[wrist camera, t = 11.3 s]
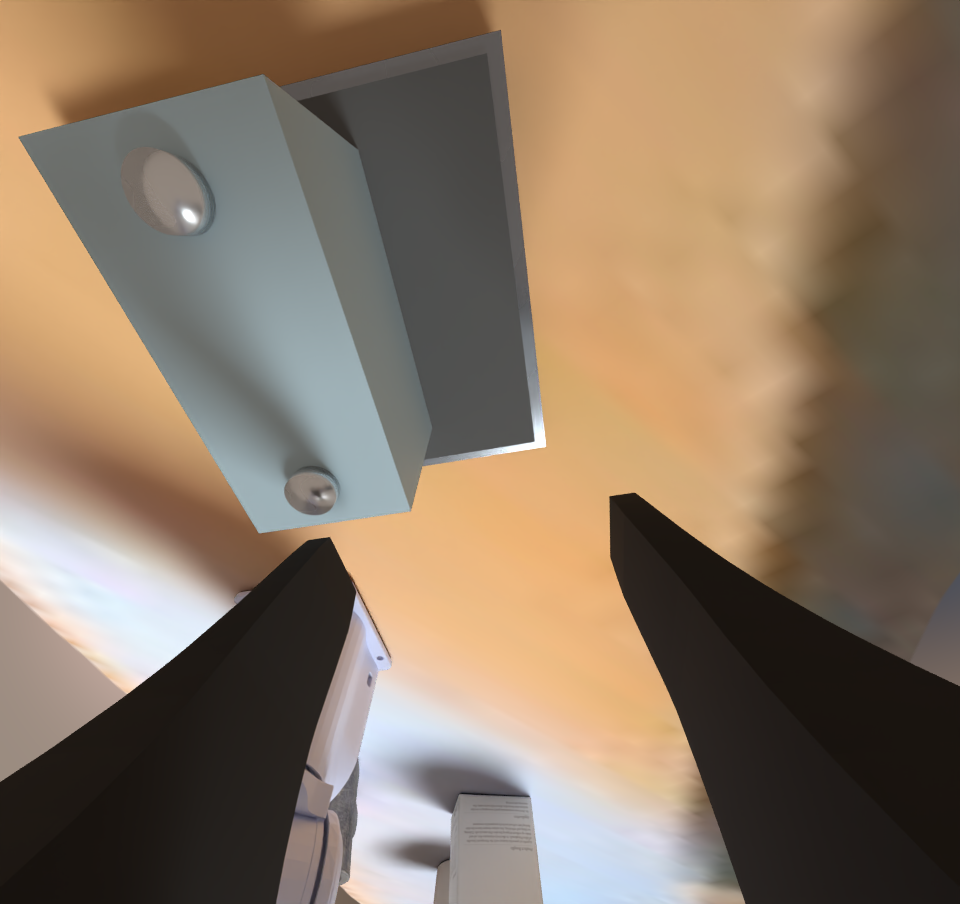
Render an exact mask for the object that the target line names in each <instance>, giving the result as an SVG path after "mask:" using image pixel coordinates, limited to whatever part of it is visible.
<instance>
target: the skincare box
mask: <svg viewBox="0 0 960 904" xmlns="http://www.w3.org/2000/svg"><path fill="white" fill-rule="evenodd" d="M449 904H543V899H542V890H541V881H540V873H539V864H538V855H537V846H536V838H535V830H534V821H533V813H532V805H531V798H530V797H517V796H491V795H468V794H459V796H458V799H457V802H456V805H455V808H454V811H453V814H452V818H451V844H450V880H449Z"/></svg>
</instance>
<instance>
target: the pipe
mask: <svg viewBox="0 0 960 904" xmlns="http://www.w3.org/2000/svg"><path fill="white" fill-rule="evenodd" d="M358 779H359V764H358V762H356V765H355V767H354V769H353V771H352V773H351V775H350V777H349V779H348V781H347V782H346V784H345V785H344V786H343V788H342V789H341V791H340V792H339V793H338V794H337V796H336V797H335V798H334V799H333V800H332V801H331V802H330V804H329V808H328V810H333V811H334V812H335V813H336V814H337V816H338V819H339V824H340V831H341V834H342V841H343V856H342V866H341V873H340V879H339V885H342V884H344V883H346V882H347V881H348V880H349V878H350V864H351V849H352V838H353V836H354V834H355V831H356V826H357V805H356V797H357V786H358ZM339 885H338V886H339Z"/></svg>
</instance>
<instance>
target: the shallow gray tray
mask: <svg viewBox="0 0 960 904" xmlns="http://www.w3.org/2000/svg"><path fill="white" fill-rule="evenodd" d="M280 88H281V89H283V90H284V91H285V92H286V93H288V94H289V95H290V96H291V97H293V98H294V99H295V100H296V101H298V102H299V103H300V104H301V105H303V106H304V107H305V108H306V109H308V110H309V111H310V112H311V113H313V114H314V115H315V116H316V117H318V118H319V119H320V120H321V121H323V122H324V123H325V124H326V125H328V126H329V127H330V128H331V129H333V130H334V131H335V132H336V133H338V134H339V135H340V136H341V137H343V138H344V139H345V140H346V141H348V142H349V143H350V144H351V145H353V146H354V147H355V148H356V149H358V151H359V155H360V159H361V162H362V166H363V170H364V174H365V177H366V181H367V185H368V189H369V192H370V196H371V200H372V204H373V207H374V211H375V215H376V219H377V222H378V226H379V230H380V234H381V237H382V241H383V245H384V249H385V252H386V256H387V260H388V264H389V268H390V271H391V275H392V279H393V283H394V286H395V290H396V294H397V298H398V301H399V305H400V309H401V313H402V316H403V320H404V324H405V328H406V331H407V335H408V339H409V343H410V346H411V350H412V354H413V358H414V361H415V365H416V369H417V373H418V376H419V380H420V384H421V388H422V391H423V395H424V399H425V403H426V407H427V410H428V414H429V418H430V422H431V425H432V431H431V435H430V439H429V442H428V446H427V450H426V454H425V458H424V462H423V466H427V465H433V464H440V463H446V462H452V461H459V460H465V459H471V458H477V457H484V456H490V455H496V454H503V453H509V452H515V451H521V450H528V449H534V448H540V447H546V442H545V433H544V424H543V415H542V405H541V396H540V387H539V378H538V368H537V359H536V350H535V341H534V332H533V322H532V313H531V304H530V295H529V286H528V276H527V267H526V258H525V249H524V240H523V230H522V221H521V212H520V203H519V193H518V184H517V175H516V166H515V157H514V147H513V138H512V129H511V120H510V111H509V101H508V92H507V83H506V74H505V65H504V55H503V46H502V37H501V30H499V31H495V32H491V33H487V34H483V35H480V36H476V37H472V38H468V39H464V40H460V41H456V42H452V43H448V44H444V45H440V46H437V47H433V48H429V49H425V50H421V51H417V52H413V53H409V54H405V55H401V56H398V57H394V58H390V59H386V60H382V61H378V62H374V63H370V64H366V65H362V66H359V67H355V68H351V69H347V70H343V71H339V72H335V73H331V74H327V75H323V76H320V77H316V78H312V79H308V80H304V81H300V82H296V83H292V84H288V85H284V86H281V87H280Z"/></svg>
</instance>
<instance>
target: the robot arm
mask: <svg viewBox="0 0 960 904" xmlns="http://www.w3.org/2000/svg"><path fill="white" fill-rule="evenodd" d="M610 557H611V560H612V564H613V567H614V570H615V573H616V576H617V579H618V582H619V584H620V587H621V590H622V593H623V596H624V598H625V600H626V602H627V605H628V607H629V609H630V611H631V613H632V615H633V618H634V620H635V622H636V624H637V626H638V628H639V630H640V632H641V635H642V637H643V639H644V641H645V643H646V645H647V647H648V649H649V651H650V654H651V656H652V658H653V660H654V662H655V664H656V666H657V668H658V670H659V673H660V675H661V677H662V679H663V681H664V683H665V685H666V687H667V690H668V692H669V694H670V697H671V699H672V701H673V704H674V706H675V708H676V711H677V713H678V716H679V718H680V721H681V724H682V726H683V729H684V732H685V734H686V737H687V740H688V742H689V745H690V748H691V750H692V753H693V756H694V758H695V761H696V764H697V767H698V769H699V772H700V775H701V778H702V780H703V783H704V786H705V789H706V792H707V794H708V797H709V800H710V803H711V805H712V808H713V811H714V814H715V817H716V819H717V822H718V825H719V828H720V831H721V834H722V836H723V839H724V842H725V845H726V848H727V851H728V854H729V857H730V860H731V863H732V866H733V868H734V871H735V874H736V877H737V880H738V883H739V886H740V889H741V892H742V895H743V897H744V900H745V903H746V904H960V686H958V685H956V684H954V683H952V682H949V681H947V680H945V679H943V678H941V677H939V676H937V675H935V674H932V673H930V672H928V671H926V670H924V669H922V668H920V667H917V666H915V665H913V664H911V663H909V662H907V661H905V660H903V659H901V658H899V657H897V656H895V655H893V654H891V653H889V652H887V651H885V650H883V649H881V648H879V647H877V646H875V645H873V644H871V643H869V642H867V641H865V640H863V639H861V638H859V637H857V636H855V635H853V634H852V633H850V632H848V631H846V630H844V629H842V628H840V627H838V626H836V625H835V624H833V623H831V622H829V621H827V620H825V619H823V618H822V617H820V616H818V615H816V614H815V613H813V612H811V611H809V610H807V609H806V608H804V607H802V606H800V605H799V604H797V603H795V602H793V601H792V600H790V599H788V598H786V597H785V596H783V595H781V594H779V593H778V592H776V591H774V590H773V589H771V588H769V587H768V586H766V585H764V584H763V583H761V582H760V581H758V580H756V579H755V578H753V577H752V576H750V575H749V574H747V573H746V572H744V571H742V570H741V569H739V568H738V567H736V566H735V565H733V564H732V563H730V562H728V561H727V560H725V559H724V558H723V557H721V556H720V555H718V554H717V553H715V552H714V551H712V550H711V549H710V548H708V547H707V546H705V545H704V544H703V543H701V542H700V541H698V540H697V539H696V538H694V537H693V536H691V535H690V534H689V533H687V532H686V531H685V530H683V529H682V528H681V527H679V526H678V525H677V524H675V523H674V522H673V521H671V520H670V519H669V518H667V517H666V516H665V515H663V514H662V513H661V512H660V511H658V510H657V509H656V508H654V507H653V506H652V505H651V504H649V503H648V502H647V501H645V500H644V499H643V498H641V497H640V496H639V495H637V494H636V493H629V494H622V495H616V496H610ZM234 601H235V603H236V604H237V605H235V606H234V607H233V608H232V609H231V610H230V611H229V612H227V613H226V614H225V615H224V616H223V617H222V618H221V619H219V620H218V621H217V622H216V623H215V624H214V625H212V626H211V627H210V628H209V629H208V630H207V631H206V632H204V633H203V634H202V635H201V636H200V637H199V638H197V639H196V640H195V641H194V642H193V643H192V644H190V645H189V646H188V647H187V648H186V649H185V650H183V651H182V652H181V653H180V654H178V655H177V656H176V657H175V658H174V659H172V660H171V661H170V662H169V663H167V664H166V665H165V666H164V667H162V668H161V669H160V670H158V671H157V672H156V673H155V674H153V675H152V676H151V677H149V678H148V679H147V680H145V681H144V682H143V683H142V684H140V685H139V686H138V687H136V688H135V689H134V690H132V691H131V692H130V693H128V694H127V695H126V696H124V697H123V698H122V699H120V700H119V701H118V702H116V703H115V704H114V705H112V706H111V707H110V708H108V709H107V710H105V711H104V712H102V713H101V714H99V715H98V716H96V717H95V718H94V719H92V720H91V721H89V722H88V723H87V724H85V725H84V726H82V727H81V728H79V729H78V730H77V731H75V732H74V733H72V734H71V735H70V736H68V737H67V738H65V739H64V740H63V741H61V742H60V743H58V744H57V745H55V746H54V747H53V748H51V749H49V750H48V751H47V752H45V753H44V754H42V755H41V756H39V757H38V758H36V759H35V760H33V761H31V762H30V763H28V764H27V765H26V766H24V767H22V768H21V769H19V770H18V771H16V772H15V773H13V774H12V775H10V776H9V777H7V778H6V779H4V780H3V781H1V782H0V904H334V903H335V899H336V894H337V889H338V885H339V879H340V873H341V866H342V856H343V841H342V834H341V831H340V824H339V819H338V816H337V814H336V813H335V812H334V811H333V810H328V808H329V804H330V802H331V801H332V800H333V799H334V798H335V797H336V796H337V794H338V793H339V792H340V791H341V789H342V788H343V786H344V785H345V784H346V782H347V781H348V779H349V777H350V775H351V773H352V771H353V769H354V767H355V765H356V762H357V759H358V755H359V752H360V747H361V743H362V739H363V735H364V730H365V726H366V722H367V718H368V713H369V709H370V705H371V701H372V697H373V692H374V688H375V684H376V680H377V675H378V671H381V670H388V669H390V668H391V665H392V661H391V659H390V657H389V655H388V653H387V651H386V648H385V646H384V644H383V642H382V640H381V638H380V636H379V634H378V632H377V630H376V628H375V626H374V624H373V622H372V620H371V618H370V616H369V614H368V612H367V610H366V608H365V606H364V604H363V602H362V600H361V598H360V596H359V594H358V592H357V590H356V588H355V586H354V583H353V582H352V581H351V579H350V577H349V575H348V573H347V571H346V569H345V567H344V564H343V562H342V560H341V558H340V556H339V554H338V552H337V550H336V548H335V546H334V544H333V542H332V540H331V538H330V537H327V538H320V539H314V540H308V541H307V542H305V543H304V544H303V545H302V546H300V547H299V548H298V549H297V550H296V551H295V552H293V553H292V554H291V555H290V556H289V557H288V558H287V559H286V560H284V561H283V562H282V563H281V564H280V565H279V566H278V567H277V568H276V569H275V570H274V571H272V572H271V573H270V574H269V575H268V576H267V577H266V578H265V579H264V580H263V581H262V582H261V583H259V584H258V585H257V586H256V587H255V588H254V589H253V590H252V591H245V592H240V593H238V594H237V595H236V597H235V598H234Z"/></svg>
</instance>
